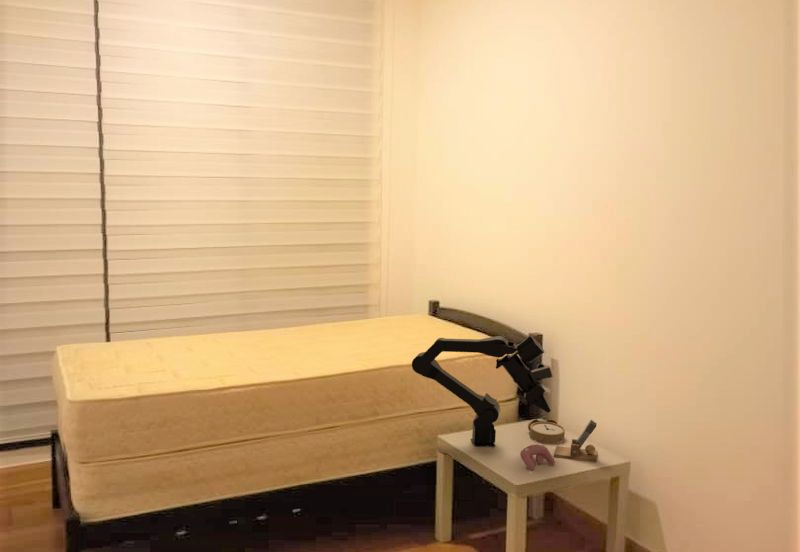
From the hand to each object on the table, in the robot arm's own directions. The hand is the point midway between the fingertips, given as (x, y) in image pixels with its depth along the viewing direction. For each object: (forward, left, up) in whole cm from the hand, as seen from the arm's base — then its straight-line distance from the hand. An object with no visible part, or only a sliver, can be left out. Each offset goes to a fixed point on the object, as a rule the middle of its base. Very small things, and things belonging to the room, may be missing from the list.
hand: (549, 411), depth 231 cm
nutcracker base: (+7, -5, -12) cm, 15 cm away
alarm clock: (+4, +14, -13) cm, 19 cm away
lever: (+7, -5, -10) cm, 14 cm away
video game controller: (-8, -12, -13) cm, 19 cm away
